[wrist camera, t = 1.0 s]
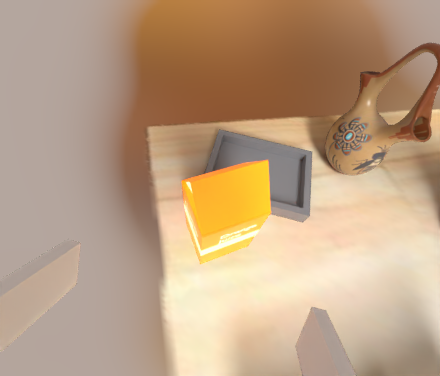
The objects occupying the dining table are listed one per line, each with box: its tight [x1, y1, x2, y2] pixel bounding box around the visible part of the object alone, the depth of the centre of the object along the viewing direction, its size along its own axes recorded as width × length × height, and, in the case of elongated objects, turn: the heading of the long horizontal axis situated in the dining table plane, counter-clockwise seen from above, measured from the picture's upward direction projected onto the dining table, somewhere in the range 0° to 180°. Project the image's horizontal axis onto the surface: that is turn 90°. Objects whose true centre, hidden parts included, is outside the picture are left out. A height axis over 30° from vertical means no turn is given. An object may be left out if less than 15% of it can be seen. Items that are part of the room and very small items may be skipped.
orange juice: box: [182, 160, 271, 264], centre depth 31 cm, size 8×9×20 cm
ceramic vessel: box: [325, 43, 440, 175], centre depth 40 cm, size 16×9×25 cm, turn 13°
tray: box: [205, 129, 312, 222], centre depth 45 cm, size 20×15×3 cm
